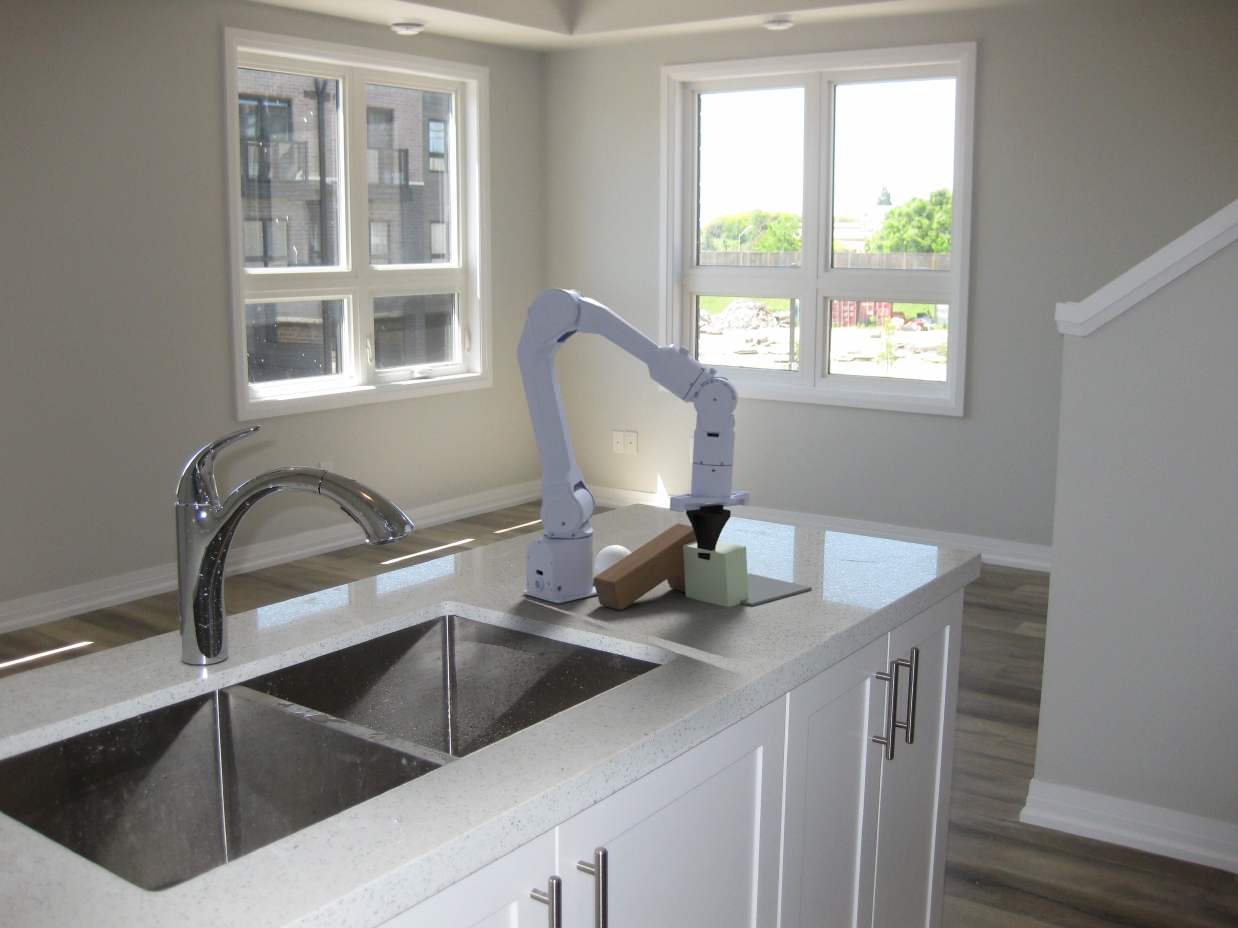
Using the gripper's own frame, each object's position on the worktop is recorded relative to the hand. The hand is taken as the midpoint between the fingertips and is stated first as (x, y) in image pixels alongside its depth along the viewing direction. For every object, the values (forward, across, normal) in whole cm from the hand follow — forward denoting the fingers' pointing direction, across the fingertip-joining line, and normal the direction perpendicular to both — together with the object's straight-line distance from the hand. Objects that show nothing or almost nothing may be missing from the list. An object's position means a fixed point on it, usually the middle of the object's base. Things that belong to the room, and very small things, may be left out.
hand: (707, 558), depth 163 cm
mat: (+6, +10, 0) cm, 12 cm away
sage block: (+6, +2, 0) cm, 7 cm away
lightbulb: (+5, +7, +17) cm, 19 cm away
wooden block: (0, +4, +6) cm, 8 cm away
